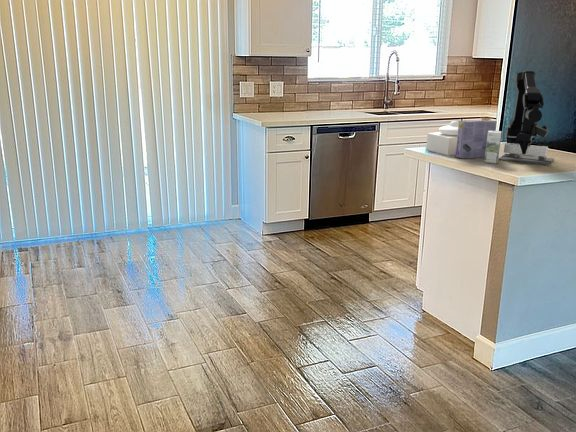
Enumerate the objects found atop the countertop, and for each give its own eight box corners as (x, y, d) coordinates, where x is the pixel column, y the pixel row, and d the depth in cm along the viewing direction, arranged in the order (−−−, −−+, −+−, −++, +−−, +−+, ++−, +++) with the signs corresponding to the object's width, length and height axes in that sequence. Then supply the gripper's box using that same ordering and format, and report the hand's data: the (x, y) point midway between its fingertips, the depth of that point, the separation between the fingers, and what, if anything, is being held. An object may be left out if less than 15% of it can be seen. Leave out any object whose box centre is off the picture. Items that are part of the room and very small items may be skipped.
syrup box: (498, 162, 257) (502, 130, 253) (497, 164, 252) (501, 132, 247) (485, 160, 259) (489, 129, 255) (484, 163, 254) (487, 131, 250)
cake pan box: (488, 155, 273) (492, 119, 267) (494, 157, 268) (499, 120, 263) (454, 157, 267) (457, 120, 262) (460, 159, 263) (463, 121, 258)
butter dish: (447, 156, 271) (450, 123, 266) (425, 150, 287) (428, 119, 282) (476, 154, 277) (479, 122, 273) (453, 148, 293) (455, 117, 289)
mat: (497, 160, 261) (497, 158, 261) (501, 157, 267) (501, 156, 267) (548, 165, 250) (548, 164, 250) (550, 163, 255) (550, 161, 255)
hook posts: (501, 157, 268) (503, 144, 266) (505, 155, 274) (507, 142, 272) (550, 162, 256) (553, 149, 254) (553, 160, 263) (555, 146, 261)
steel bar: (503, 152, 260) (504, 144, 259) (505, 151, 264) (506, 142, 262) (545, 156, 251) (546, 148, 250) (546, 155, 254) (547, 146, 253)
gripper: (545, 123, 241) (539, 158, 246) (551, 119, 256) (547, 152, 261) (518, 121, 247) (513, 155, 251) (526, 117, 262) (522, 150, 266)
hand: (524, 153), depth 257 cm, fingers closed on steel bar, 4 cm apart
